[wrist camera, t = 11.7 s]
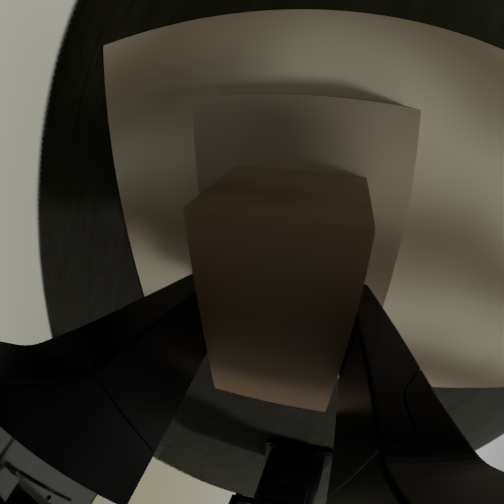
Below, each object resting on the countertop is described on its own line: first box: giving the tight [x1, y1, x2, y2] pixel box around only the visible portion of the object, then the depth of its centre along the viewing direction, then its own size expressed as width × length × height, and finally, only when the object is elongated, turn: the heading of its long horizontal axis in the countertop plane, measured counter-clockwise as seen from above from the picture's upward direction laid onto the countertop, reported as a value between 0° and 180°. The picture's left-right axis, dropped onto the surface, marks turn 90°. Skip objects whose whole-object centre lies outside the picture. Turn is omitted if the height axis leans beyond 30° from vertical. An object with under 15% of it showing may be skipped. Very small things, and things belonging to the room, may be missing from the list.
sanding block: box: [183, 93, 421, 412], centre depth 9 cm, size 10×6×5 cm, turn 2°
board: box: [103, 9, 504, 388], centre depth 10 cm, size 16×24×2 cm, turn 91°
